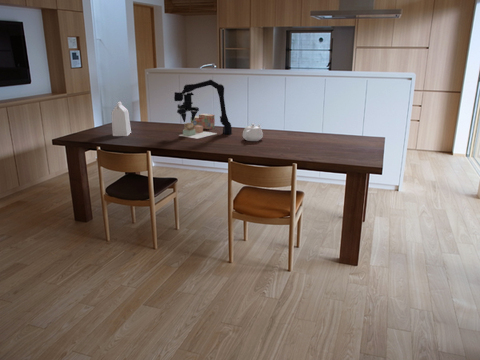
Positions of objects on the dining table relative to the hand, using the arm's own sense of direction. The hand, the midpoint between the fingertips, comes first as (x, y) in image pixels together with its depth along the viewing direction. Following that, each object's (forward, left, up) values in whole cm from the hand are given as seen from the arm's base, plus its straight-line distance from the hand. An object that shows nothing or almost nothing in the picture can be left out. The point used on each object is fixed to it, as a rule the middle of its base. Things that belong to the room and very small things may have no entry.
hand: (188, 121), depth 326 cm
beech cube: (0, 0, -7) cm, 7 cm away
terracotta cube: (+1, -12, -11) cm, 16 cm away
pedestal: (0, 0, -11) cm, 11 cm away
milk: (+46, +30, -12) cm, 56 cm away
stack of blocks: (+12, -29, -12) cm, 33 cm away
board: (-5, -5, -12) cm, 14 cm away
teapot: (-49, -19, -12) cm, 54 cm away
